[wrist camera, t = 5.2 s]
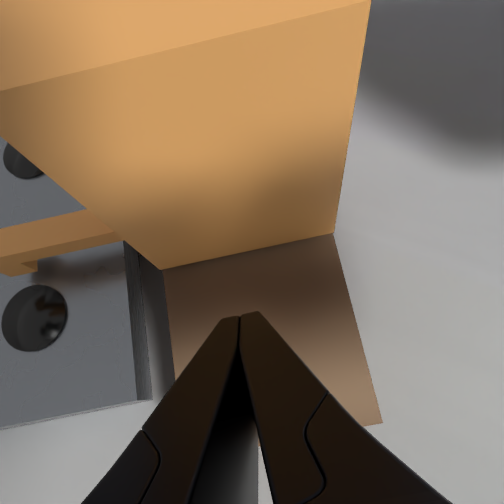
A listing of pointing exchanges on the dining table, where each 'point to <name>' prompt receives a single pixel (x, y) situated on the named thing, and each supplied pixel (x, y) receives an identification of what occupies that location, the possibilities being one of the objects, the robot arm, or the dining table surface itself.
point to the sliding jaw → (180, 121)
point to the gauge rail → (278, 312)
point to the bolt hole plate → (66, 315)
